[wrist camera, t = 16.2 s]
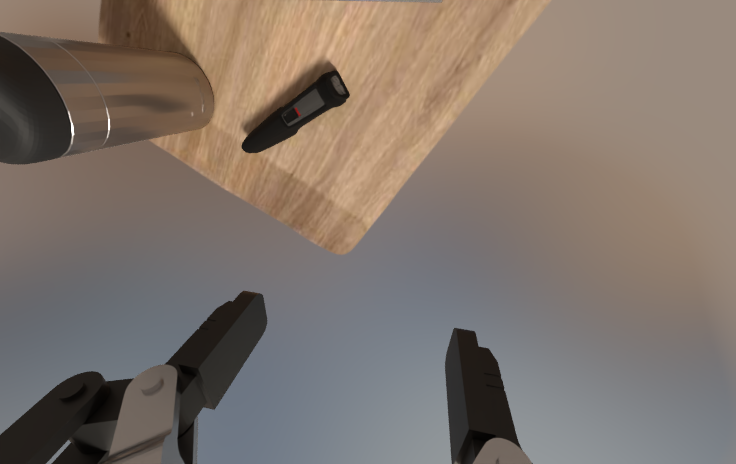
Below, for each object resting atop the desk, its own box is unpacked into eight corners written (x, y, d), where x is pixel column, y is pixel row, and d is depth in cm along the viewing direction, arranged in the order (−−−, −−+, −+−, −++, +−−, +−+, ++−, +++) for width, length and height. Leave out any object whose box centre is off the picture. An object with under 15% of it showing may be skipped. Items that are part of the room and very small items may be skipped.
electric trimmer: (245, 131, 38) (231, 136, 36) (336, 67, 32) (327, 66, 30) (262, 156, 40) (250, 162, 37) (352, 98, 34) (345, 100, 31)
